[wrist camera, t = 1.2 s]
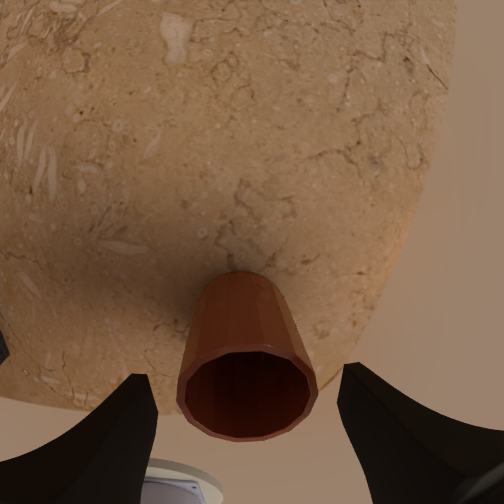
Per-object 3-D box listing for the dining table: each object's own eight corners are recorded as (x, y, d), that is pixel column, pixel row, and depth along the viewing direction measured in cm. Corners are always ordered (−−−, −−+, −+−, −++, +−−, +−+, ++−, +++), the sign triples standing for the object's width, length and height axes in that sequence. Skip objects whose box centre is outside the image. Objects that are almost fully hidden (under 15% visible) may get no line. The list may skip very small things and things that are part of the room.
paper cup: (285, 347, 17) (311, 435, 10) (199, 352, 17) (187, 442, 10) (287, 268, 16) (325, 337, 9) (190, 273, 15) (163, 346, 9)
